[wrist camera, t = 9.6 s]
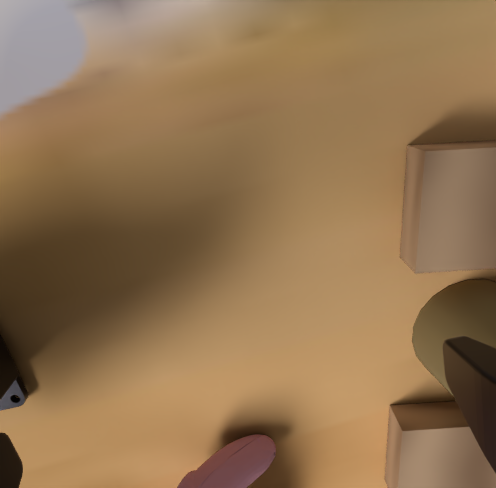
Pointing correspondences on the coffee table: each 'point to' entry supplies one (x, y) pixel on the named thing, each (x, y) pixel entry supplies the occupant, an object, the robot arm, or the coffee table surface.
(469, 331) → the olive bulb shape
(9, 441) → the robot arm
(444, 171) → the notched board
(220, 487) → the purple toy elephant
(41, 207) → the coffee table surface
